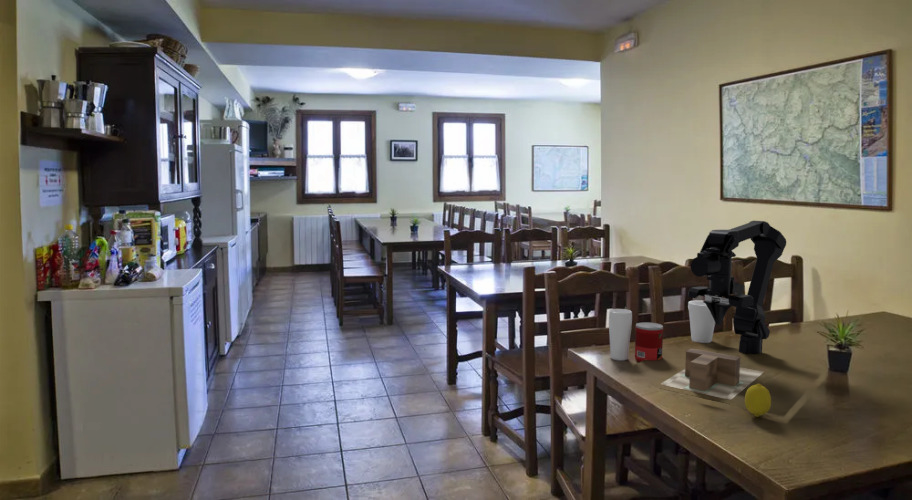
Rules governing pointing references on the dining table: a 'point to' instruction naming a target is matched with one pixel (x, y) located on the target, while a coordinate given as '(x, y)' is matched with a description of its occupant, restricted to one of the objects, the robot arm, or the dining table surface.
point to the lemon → (758, 400)
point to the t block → (711, 369)
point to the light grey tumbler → (619, 333)
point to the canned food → (648, 341)
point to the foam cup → (700, 322)
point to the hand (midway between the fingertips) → (718, 325)
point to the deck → (717, 389)
